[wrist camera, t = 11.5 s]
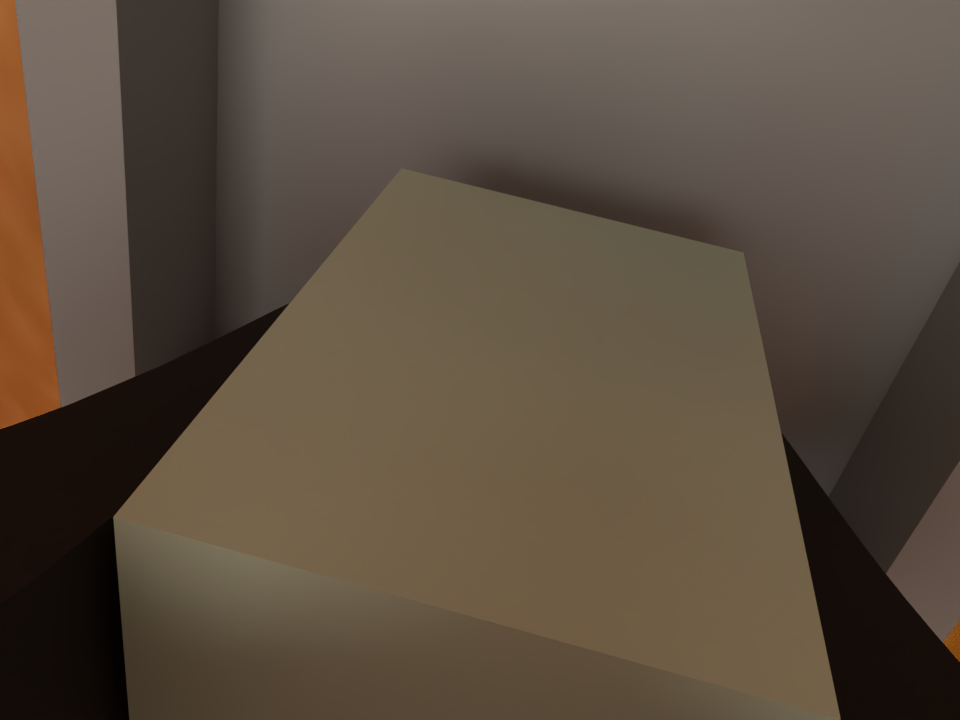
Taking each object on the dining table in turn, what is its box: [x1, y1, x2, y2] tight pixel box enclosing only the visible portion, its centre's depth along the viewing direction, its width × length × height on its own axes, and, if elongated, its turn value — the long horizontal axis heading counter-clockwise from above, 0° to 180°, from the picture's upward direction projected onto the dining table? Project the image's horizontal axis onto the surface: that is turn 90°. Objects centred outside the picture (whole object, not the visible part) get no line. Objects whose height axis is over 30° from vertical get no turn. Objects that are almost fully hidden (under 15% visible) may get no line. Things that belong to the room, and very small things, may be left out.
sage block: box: [113, 168, 841, 720], centre depth 8 cm, size 4×4×6 cm
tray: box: [15, 0, 960, 642], centre depth 10 cm, size 16×13×4 cm
